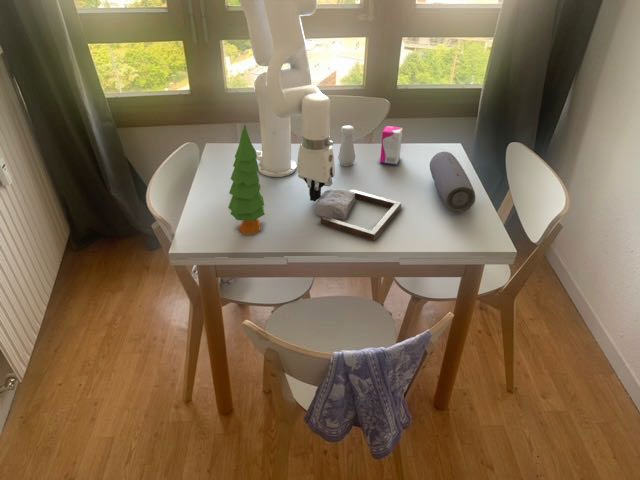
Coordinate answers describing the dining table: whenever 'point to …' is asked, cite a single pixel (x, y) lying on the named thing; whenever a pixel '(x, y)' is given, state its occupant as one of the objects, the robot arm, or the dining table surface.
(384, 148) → the supplement box
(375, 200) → the frame
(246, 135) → the decorative tree
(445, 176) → the bluetooth speaker
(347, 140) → the salt shaker
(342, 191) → the stone block
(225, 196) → the dining table surface
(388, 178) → the dining table surface
